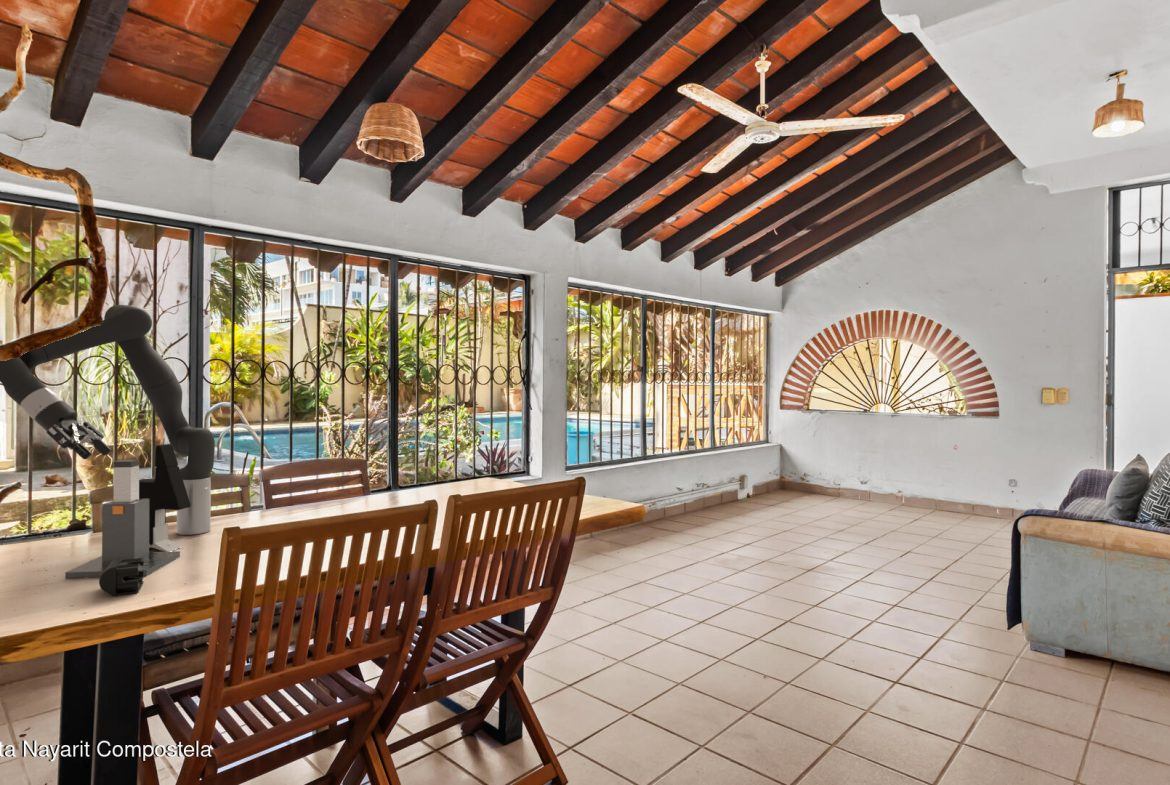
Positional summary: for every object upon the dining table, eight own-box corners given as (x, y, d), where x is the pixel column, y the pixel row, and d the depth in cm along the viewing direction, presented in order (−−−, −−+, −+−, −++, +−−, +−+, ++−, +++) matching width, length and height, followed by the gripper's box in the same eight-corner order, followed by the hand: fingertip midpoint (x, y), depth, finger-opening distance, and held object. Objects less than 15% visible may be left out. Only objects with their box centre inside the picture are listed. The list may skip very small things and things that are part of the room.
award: (191, 548, 187) (192, 444, 187) (178, 552, 182) (178, 445, 182) (142, 546, 189) (143, 443, 188) (128, 550, 184) (128, 444, 183)
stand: (107, 558, 175) (107, 495, 175) (179, 556, 178) (180, 494, 178) (65, 578, 157) (65, 508, 157) (146, 576, 160) (146, 507, 160)
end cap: (107, 586, 152) (107, 557, 152) (143, 582, 155) (144, 554, 155) (98, 599, 143) (98, 568, 143) (137, 594, 146) (137, 564, 146)
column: (121, 555, 169) (122, 459, 169) (139, 555, 170) (139, 459, 170) (113, 559, 165) (113, 461, 165) (130, 559, 166) (131, 461, 166)
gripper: (41, 400, 158) (93, 447, 160) (77, 398, 172) (125, 442, 174) (17, 422, 157) (69, 469, 159) (55, 418, 171) (103, 462, 173)
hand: (98, 454), depth 166 cm, fingers open, 8 cm apart
